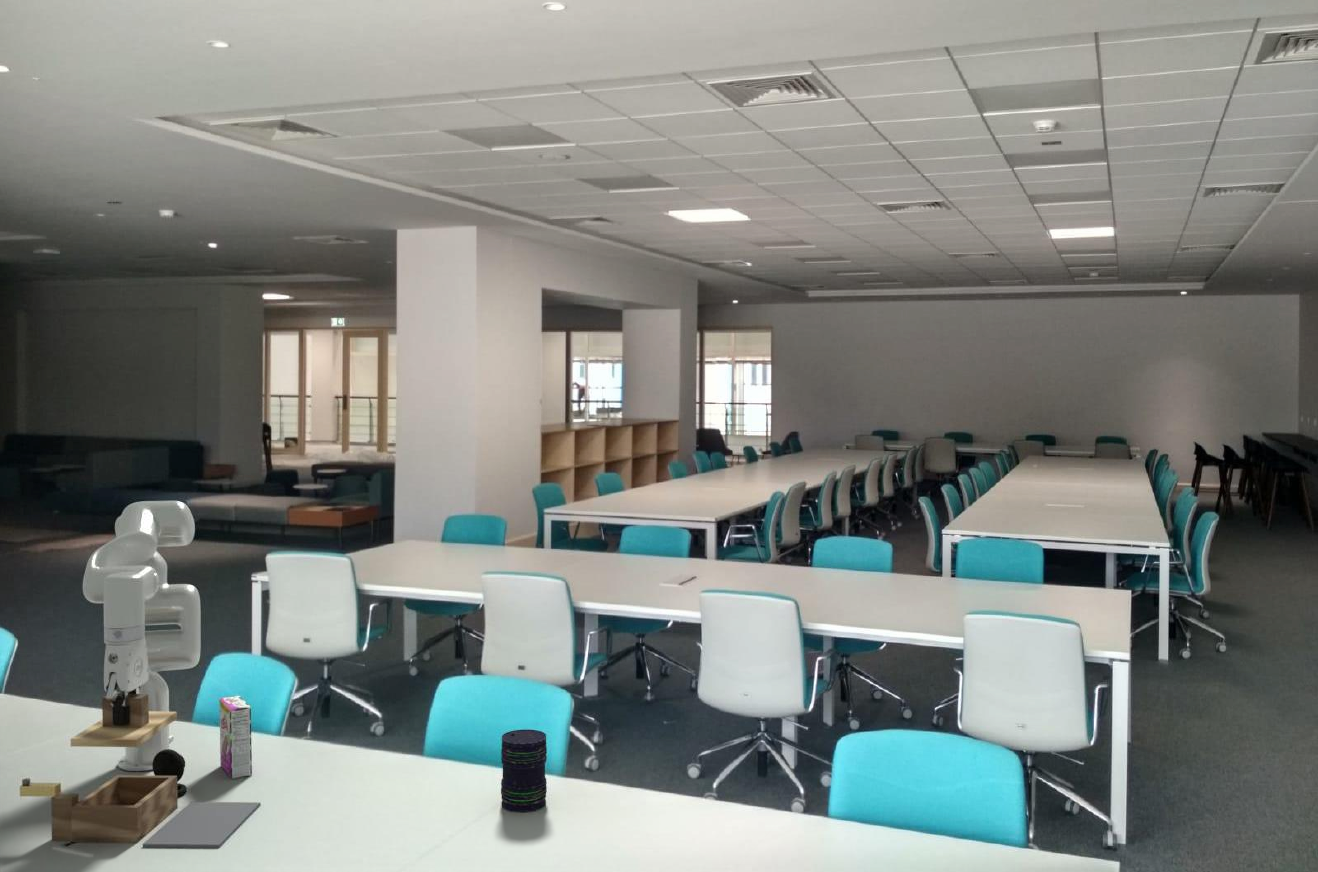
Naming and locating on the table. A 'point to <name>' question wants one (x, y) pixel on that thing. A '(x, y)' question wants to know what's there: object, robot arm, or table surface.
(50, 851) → the table surface
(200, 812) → the mat
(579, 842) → the table surface
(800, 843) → the table surface
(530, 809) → the storage jar
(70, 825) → the open wooden box
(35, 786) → the yellow bar with ball
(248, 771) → the candy bar box
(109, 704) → the lid
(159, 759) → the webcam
